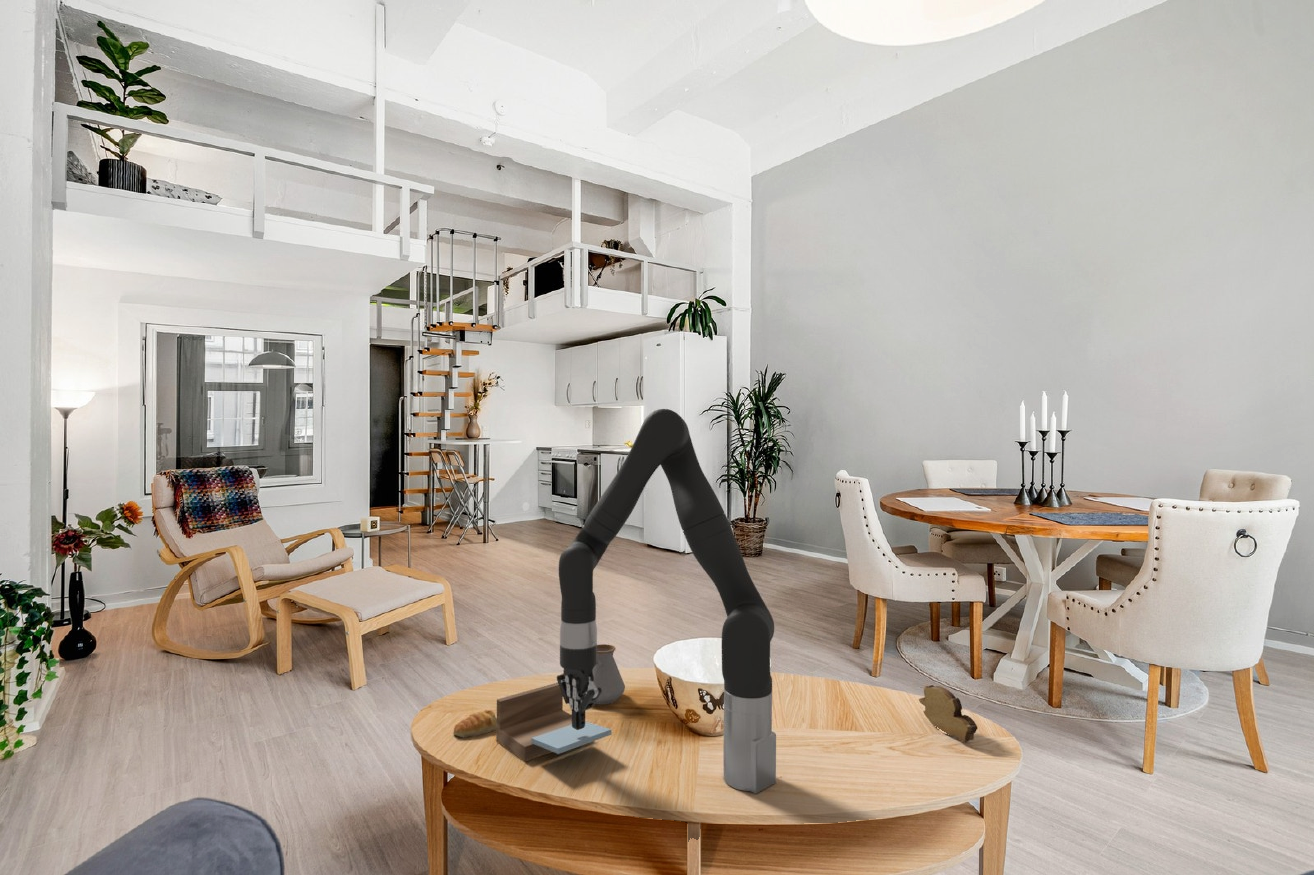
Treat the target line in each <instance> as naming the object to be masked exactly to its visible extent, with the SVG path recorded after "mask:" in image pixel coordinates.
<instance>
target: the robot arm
mask: <svg viewBox="0 0 1314 875" xmlns="http://www.w3.org/2000/svg"><path fill="white" fill-rule="evenodd" d="M659 466H661V468H662V470H663V473H664V474H665V476H666V478H667V481H668V484H669V486H670V490H671V494H672V499H673V504H674V508H675V513H676V515H677V519H678V521H679V525H680V527H681V530H682V532H683V535H684V537H685V540H686V542H687V545H688V547H689V548H690V551H691V552H692V555H693V557H694V558H695V560H696V561H697V563H698V564H699V565H700V566H701V567H702V569H703V570H704V572H705V573H706V574H707V576H708V578H710V579H711V581H712V582H713V585H715V587H716V589H717V591H718V593H719V596H720V598H721V601H722V604H723V608H724V610H725V614H726V619H725V621H724V623H723V625H722V629H721V673H722V674H721V675H722V678H723V686H724V687H723V697H724V698H723V781H724V782H725V783H726V784H727V785H728V786H730V787H732V788H734V789H736V790H740V791H744V792H745V791H746V792H752V793H753V794H758V793H760V792H761V791H763V790H765V789H767V788H769V787H771V786H772V785H774V784H776V783H777V782H776V780H777V734H776V732H774V731H773V730H772V729H773V728H772V727H773V718H772V717H773V677H772V675H771V641H772V639H773V637H774V634H775V622H774V618H773V616H772V614H771V611H770V610H769V608H768V607H767V605H766V603H765V602H764V601H765V600H764V599H763V598H762V596H761V594H760V592H759V590H758V589H757V587H756V585H755V583H754V581H753V580H752V578H751V575H750V573H749V570H748V568H747V566H746V562H745V560H744V556H743V555H742V551H741V548H740V547H739V544H738V542H737V539H736V537H735V534H734V531H733V529H732V526H731V524H730V522H729V519H728V517H727V515H726V513H725V511H724V508H723V506H722V504H721V503H720V501H719V498H718V497H717V494H716V493H715V491H714V489H713V487H712V485H711V484H710V482H709V480H708V479H707V477H706V475H705V474H704V472H703V469H702V467H701V465H700V463H699V459H698V457H697V454H696V450H695V448H694V445H693V442H692V438H691V435H690V430H689V428H688V425H687V422H686V421H685V419H683V418H682V416H681V415H679V414H678V413H677V412H676V411H673V410H671V409H668V408H658V409H655V410H654V411H652V412H650V413H649V414H648V415H647V416H646V417H645V418H644V420H643V422H642V425H641V427H640V429H639V431H638V434H637V436H636V437H635V440H634V442H633V444H632V446H631V449H630V450H629V452H628V454H627V456H626V458H625V460H624V461H623V463H622V465H621V466H620V468H619V469H618V470H617V473H616V474H615V476H614V478H613V479H612V480H611V481H610V483H609V485H608V487H607V488H606V489H605V491H604V492H603V493H602V495H601V496H600V498H599V499H598V501H597V502H596V504H595V505H594V507H593V508H592V509H591V511H590V512H589V514H588V515H587V517H586V519H585V521H584V523H583V527H582V528H581V529H580V531H579V532H578V534H577V535H576V536H575V538H574V539H573V540H572V542H571V543H570V544H569V545H568V547H567V548H565V549H564V550H563V552H561V554H560V557H559V561H558V579H559V588H560V593H561V603H560V604H561V607H560V612H561V613H560V616H561V618H560V619H561V620H560V629H559V665H560V667H561V668H562V669H563V670H562V671H563V672H562V673H561V674H559V675H556V681H557V683H558V684H559V687H560V690H561V692H562V695H563V701H564V703H565V704H566V705H567V704H569V709H570V710H571V715H572V727H573V728H574V729H576V730H579V729H582V728H584V727H585V721H586V711H587V710H590V709H592V708H594V705H596V704H595V702H596V701H597V699H598V697H599V696H600V694H601V692H602V690H601V688H600V687H598V688H596V686H595V684H594V683H593V681H594V675H593V668H594V666H595V665H596V664H597V645H598V627H597V618H596V617H597V608H596V607H597V602H596V601H597V600H596V595H595V592H594V591H593V590H594V570H595V569H596V567H597V565H598V564H599V562H600V561H601V559H602V557H603V555H604V554H605V552H606V550H607V549H608V548H609V546H610V544H611V542H612V541H614V539H615V538H616V537H617V535H618V534H619V533H620V531H621V530H622V528H623V526H624V525H625V524H626V522H627V520H628V519H629V517H630V516H631V514H632V512H633V510H634V509H635V507H636V505H637V504H638V501H639V499H640V497H641V495H642V494H643V491H644V489H645V488H646V485H647V484H648V482H649V481H650V479H651V477H652V476H653V475H654V473H655V472H656V470H658V468H659Z"/></svg>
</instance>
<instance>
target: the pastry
mask: <svg viewBox="0 0 1314 875" xmlns="http://www.w3.org/2000/svg"><path fill="white" fill-rule="evenodd" d="M496 726H497V716H496V714H495V712H494V711H493V710H492V709H485V710H484V711H479V712H474V713H471V714H469V716H468V717H466V718H465V719H462V720H460V721H459V722H458V723H456V724H455V725H454V728H453V734H454V735H455V736H457V737H460V738H468V736H469V737H476V736H477V737H478V736H480V735H485V734H488V732H489V733H491V731H492V732H494V731H496ZM484 733H485V734H484Z"/></svg>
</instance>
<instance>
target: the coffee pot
mask: <svg viewBox="0 0 1314 875" xmlns="http://www.w3.org/2000/svg"><path fill="white" fill-rule="evenodd" d="M615 652H616V647H615V646H614V645H612V644H605V643H604V644H602V643H600V644H597V664H596V665H595V666H594V668H593V675H594V681H593V683H594V684H595V686H596V688H598V687H600V688H601V690H602V692H601V694H600V696H599V697H598V699H597V701H596V702H595V704H594V705H609V703H610V704H613V703H615V702H616V701H618V699H620V698H621V697H622V695H623V694H624V692H625V689H626V685H625V683H624V680H623V678H622V674H621V672H620V670H619V667H618V664H617V663H616V660H615V658H614V653H615Z"/></svg>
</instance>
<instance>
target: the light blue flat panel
mask: <svg viewBox="0 0 1314 875" xmlns="http://www.w3.org/2000/svg"><path fill="white" fill-rule="evenodd" d="M611 735H613V734H612V729H611V728H608V727H605V726H601V725H598V724H595V723H592V722H589V721H586V720H585V727H584V728H582V729H579V730H576V729H574V728H573V727H572V725H569V726H566V727H563V728H560V729H557V730H554V731H551V732H548V733H545V734H542V735H539V736H536V737H533V738H531V743H532V744H535V745H537V746H540V747H542V748H545V749H547V750H550V751H552V752H551V753H555V754H557V755H560V754H563V753H565V752H568V751H571V750H574V749H575V748H581V747H583V746H584V745H587V744H590V743H593V742H594V741H598V740H601V739H604V738H606V737H608V736H611Z"/></svg>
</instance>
